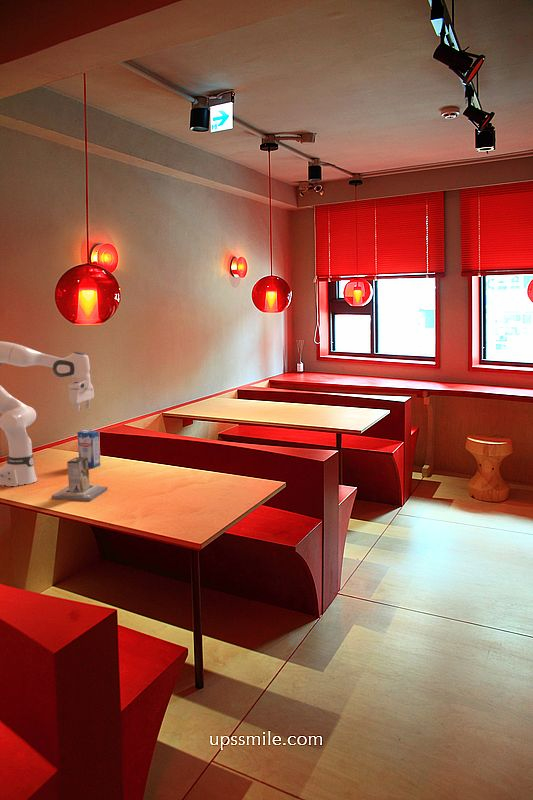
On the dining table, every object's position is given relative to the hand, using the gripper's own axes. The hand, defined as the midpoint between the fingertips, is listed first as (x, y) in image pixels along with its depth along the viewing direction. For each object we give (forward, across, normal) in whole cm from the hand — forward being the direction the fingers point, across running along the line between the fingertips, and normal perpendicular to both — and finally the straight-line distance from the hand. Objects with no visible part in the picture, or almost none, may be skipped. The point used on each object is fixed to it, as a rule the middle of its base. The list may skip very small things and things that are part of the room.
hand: (83, 409), depth 321 cm
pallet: (+37, +26, +10) cm, 46 cm away
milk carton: (+37, -23, -10) cm, 45 cm away
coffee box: (+36, +26, +10) cm, 46 cm away
